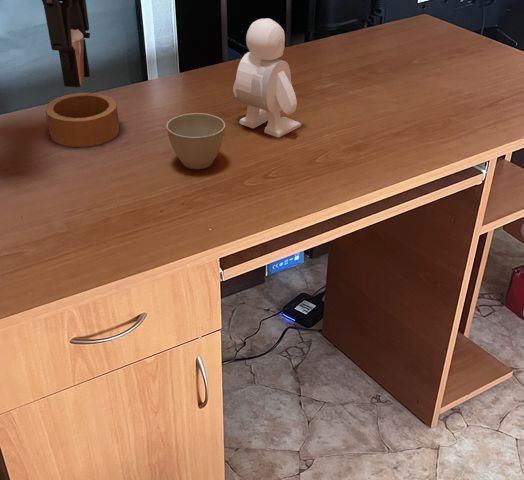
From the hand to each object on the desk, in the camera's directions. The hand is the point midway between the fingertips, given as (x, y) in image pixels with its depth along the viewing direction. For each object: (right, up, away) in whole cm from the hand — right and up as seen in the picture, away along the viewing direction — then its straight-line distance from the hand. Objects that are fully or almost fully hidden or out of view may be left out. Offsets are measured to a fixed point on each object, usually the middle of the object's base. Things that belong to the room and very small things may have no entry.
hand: (77, 80), depth 142 cm
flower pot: (+22, -16, -3) cm, 27 cm away
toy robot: (+34, -6, +9) cm, 36 cm away
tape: (0, -8, +6) cm, 10 cm away
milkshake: (0, 0, 0) cm, 0 cm away
